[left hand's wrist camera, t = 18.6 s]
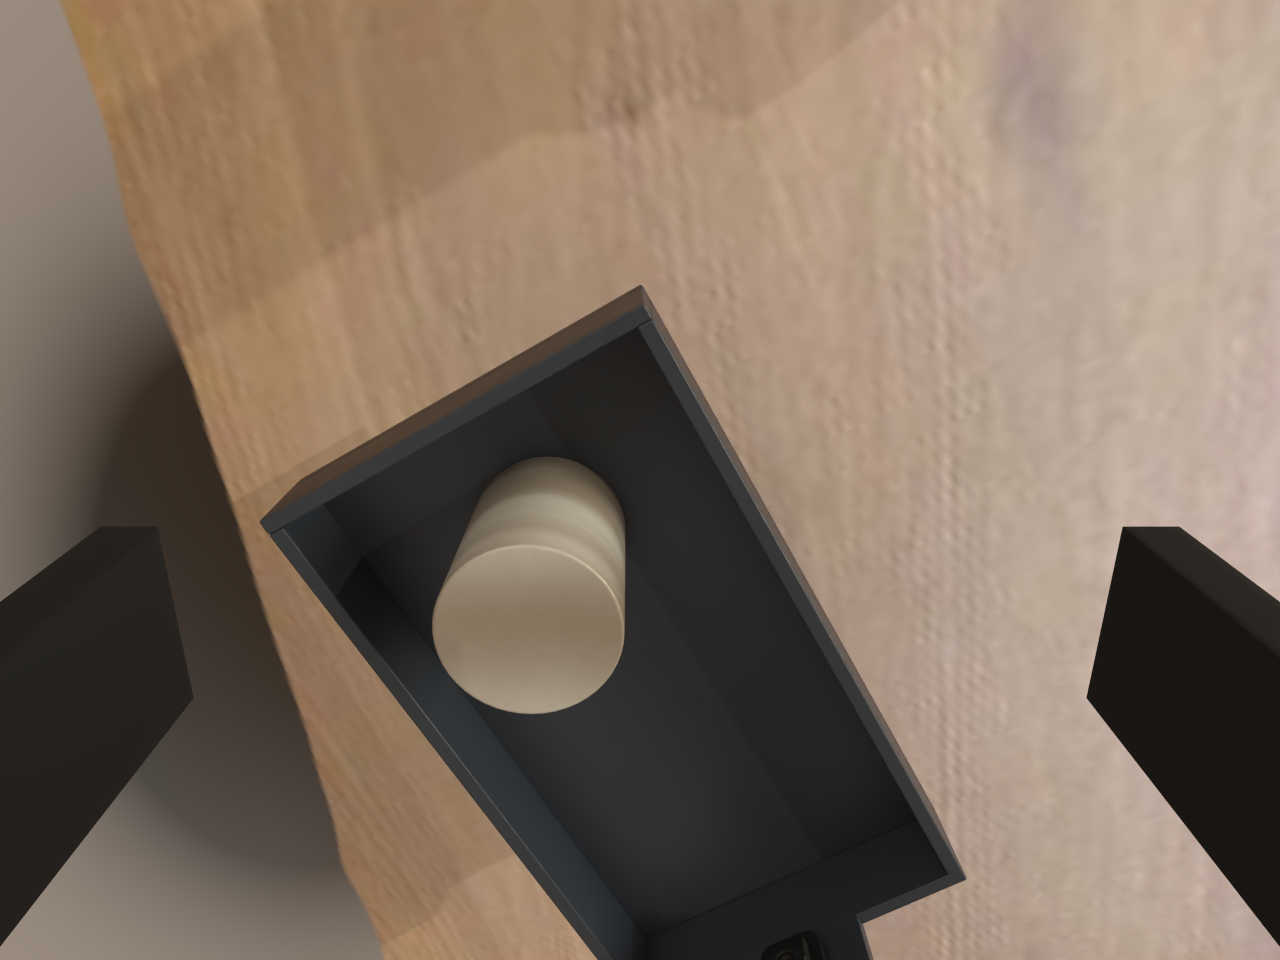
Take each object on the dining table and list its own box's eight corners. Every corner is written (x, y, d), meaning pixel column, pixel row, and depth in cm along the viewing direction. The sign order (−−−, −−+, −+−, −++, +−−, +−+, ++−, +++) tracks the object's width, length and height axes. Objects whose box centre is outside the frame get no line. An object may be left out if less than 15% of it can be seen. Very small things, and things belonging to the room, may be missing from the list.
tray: (299, 480, 30) (171, 610, 22) (641, 283, 28) (647, 343, 20) (641, 939, 37) (645, 1173, 29) (935, 810, 35) (1032, 1020, 27)
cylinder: (469, 455, 29) (424, 545, 23) (625, 455, 29) (624, 545, 23) (478, 594, 31) (438, 715, 24) (625, 594, 31) (624, 715, 25)
